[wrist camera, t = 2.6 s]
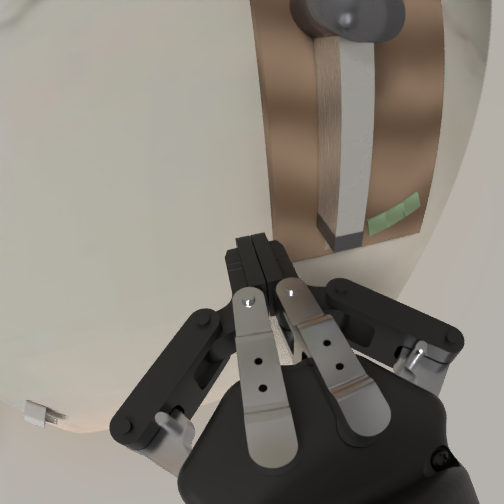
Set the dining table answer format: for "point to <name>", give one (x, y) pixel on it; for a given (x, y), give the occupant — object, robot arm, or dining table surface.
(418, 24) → the plate
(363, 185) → the lever
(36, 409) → the usb wall charger
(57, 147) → the dining table surface
